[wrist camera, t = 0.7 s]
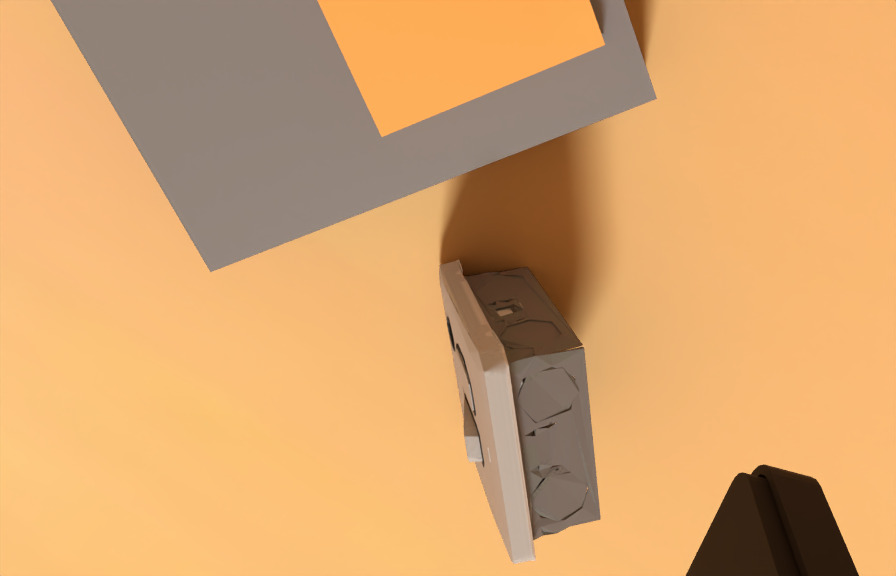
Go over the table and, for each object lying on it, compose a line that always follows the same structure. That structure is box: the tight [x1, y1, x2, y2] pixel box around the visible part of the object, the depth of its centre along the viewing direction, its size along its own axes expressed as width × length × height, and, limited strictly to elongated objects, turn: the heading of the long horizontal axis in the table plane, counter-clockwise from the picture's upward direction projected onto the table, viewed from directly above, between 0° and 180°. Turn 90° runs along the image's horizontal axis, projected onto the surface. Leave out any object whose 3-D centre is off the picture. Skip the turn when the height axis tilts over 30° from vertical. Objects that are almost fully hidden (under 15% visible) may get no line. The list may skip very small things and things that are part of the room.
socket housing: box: [51, 0, 657, 272], centre depth 30 cm, size 18×14×4 cm
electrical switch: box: [439, 260, 600, 564], centre depth 33 cm, size 9×5×9 cm, turn 9°
